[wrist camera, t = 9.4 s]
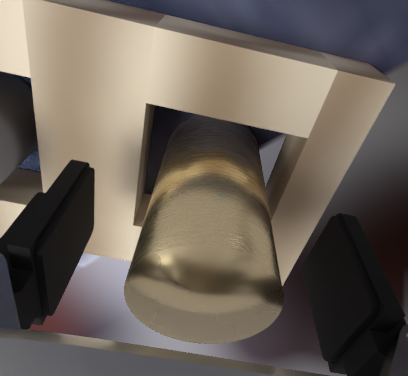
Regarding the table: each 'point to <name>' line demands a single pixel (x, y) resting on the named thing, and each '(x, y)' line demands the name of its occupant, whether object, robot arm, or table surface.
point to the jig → (175, 99)
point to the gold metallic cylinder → (207, 239)
